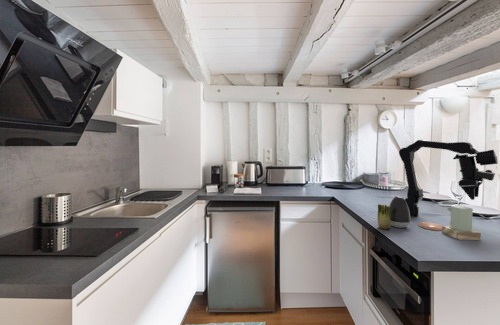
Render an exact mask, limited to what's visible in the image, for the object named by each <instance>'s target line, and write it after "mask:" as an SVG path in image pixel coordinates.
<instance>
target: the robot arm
mask: <svg viewBox="0 0 500 325" xmlns="http://www.w3.org/2000/svg"><path fill="white" fill-rule="evenodd" d="M421 148H428V149H437V150H438V149H439V150H447V151H450V152H453V153H456V155H455V156H454V157H453V158H452V159H453V160H458V162H459V168H460V170H459V172H461V179H460V180H459V181H458V186H459V187H460V188H461V189H462V190H463V191H464V192H465V194H466V195H467V196H468V197H469V199H470V200H471V201H472V200H473V201H475V198H479V191H480V185H482V184H483V183H484V180H487V181H493V180H494V179H495V175H496V173H495V172H493V170H492V169H486V170H485V171H484V170H479V168H478V167H477V165H478V164H479V166H489V165H497V164H499V162H498V156H497V155H496V152H495V150H494V149H488V150H484V151H478V150H477V149H475V148H474V146H473V144H472V143H471V142H468V141H460V142H459V141H456V142H443V141H433V140H432V141H431V140H424V139H417V140H416V141H414V142H413V143H411V144H409V145H407V146H406V147H402V148H400V149H399V150H398V155H399V158H400V159H401V161H402V163H403V164H404V165H403V166H404V170H405V176H406V180H407V191H406V192H407V193H406V194H407V195H406V198H404V200H405V201H406V203H407V205H408V208H409V212H410V217H411V216H412V217H418V216H419V210H420V209H419V206H418V204H419V203H420V202H421V201H422V200H424V197H425V195H424V193H423V188H419V186H418V180H417V177H416V175H417V174H416V170H415V166H414V159H415V153H416V152H418V151H419V150H421ZM457 153H458V154H457ZM460 154H461V155H460ZM476 164H477V165H476Z"/></svg>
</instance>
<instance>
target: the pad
mask: <svg viewBox="0 0 500 325" xmlns="http://www.w3.org/2000/svg"><path fill="white" fill-rule="evenodd" d="M418 226H419V228H421V229H425V230H429V231H436V232H437V231H441V232H442V226H443V225H442V224H439V223H434V222H429V221H427V222H426V221H422V222H419V223H418Z"/></svg>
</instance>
